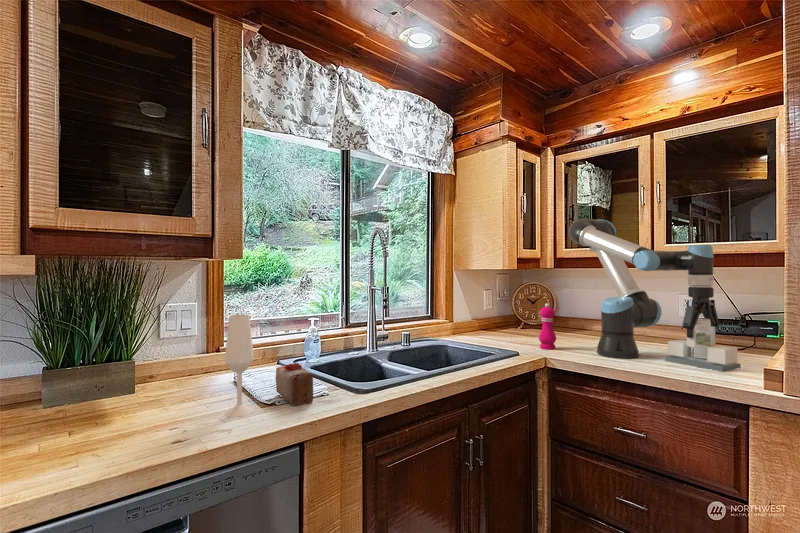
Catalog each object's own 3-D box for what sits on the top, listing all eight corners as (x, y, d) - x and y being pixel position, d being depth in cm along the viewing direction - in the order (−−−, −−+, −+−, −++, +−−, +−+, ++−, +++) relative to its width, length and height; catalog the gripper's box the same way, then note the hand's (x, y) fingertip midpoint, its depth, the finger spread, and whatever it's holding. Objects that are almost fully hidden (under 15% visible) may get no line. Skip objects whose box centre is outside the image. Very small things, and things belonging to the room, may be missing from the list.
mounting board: (665, 360, 157) (665, 356, 157) (683, 357, 162) (683, 353, 162) (722, 371, 140) (722, 367, 140) (740, 367, 145) (740, 363, 145)
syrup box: (710, 357, 152) (709, 318, 152) (711, 360, 147) (710, 319, 147) (691, 355, 155) (690, 317, 155) (691, 358, 150) (691, 318, 150)
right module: (707, 361, 146) (707, 347, 146) (719, 358, 149) (719, 345, 149) (725, 364, 141) (725, 349, 141) (737, 361, 144) (737, 347, 144)
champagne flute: (221, 417, 98) (221, 317, 99) (228, 408, 105) (228, 314, 105) (251, 415, 100) (251, 316, 100) (255, 406, 106) (255, 314, 106)
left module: (668, 354, 158) (668, 341, 158) (680, 352, 161) (680, 339, 161) (683, 356, 153) (683, 343, 153) (695, 354, 156) (695, 341, 156)
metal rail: (670, 355, 158) (670, 353, 158) (678, 354, 161) (678, 352, 161) (727, 366, 141) (727, 363, 141) (735, 364, 144) (735, 362, 144)
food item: (272, 395, 116) (271, 360, 116) (299, 390, 121) (298, 356, 121) (289, 408, 105) (289, 370, 105) (318, 402, 110) (318, 365, 110)
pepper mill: (535, 348, 182) (535, 303, 182) (544, 346, 187) (543, 302, 187) (551, 350, 177) (550, 304, 177) (559, 348, 182) (558, 303, 182)
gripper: (693, 287, 143) (693, 350, 142) (730, 286, 153) (730, 344, 153) (670, 286, 149) (671, 346, 149) (707, 285, 160) (708, 341, 160)
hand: (701, 345), depth 151 cm, fingers open, 12 cm apart
